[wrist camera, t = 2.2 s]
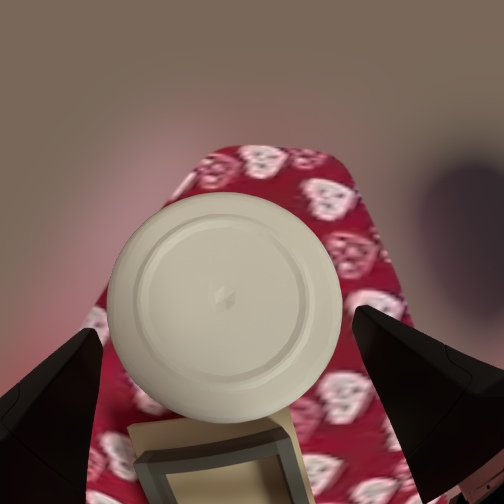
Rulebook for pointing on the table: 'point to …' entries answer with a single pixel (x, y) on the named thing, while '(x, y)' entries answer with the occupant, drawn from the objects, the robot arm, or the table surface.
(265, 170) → the table surface
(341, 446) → the table surface
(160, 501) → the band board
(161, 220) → the sprinkles bottle
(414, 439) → the robot arm
